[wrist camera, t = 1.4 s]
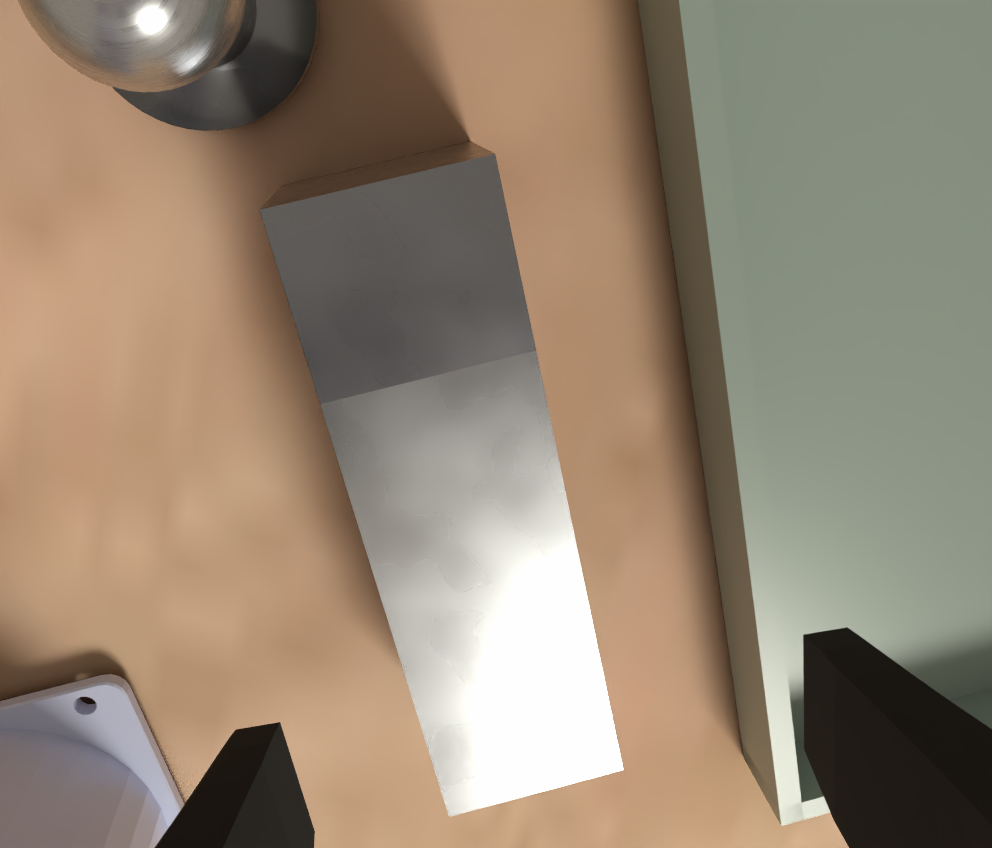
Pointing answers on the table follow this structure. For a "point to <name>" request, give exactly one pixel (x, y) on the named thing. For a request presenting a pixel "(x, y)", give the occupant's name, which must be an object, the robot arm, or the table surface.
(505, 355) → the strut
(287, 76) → the stud post
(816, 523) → the bin tray
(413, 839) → the table surface
